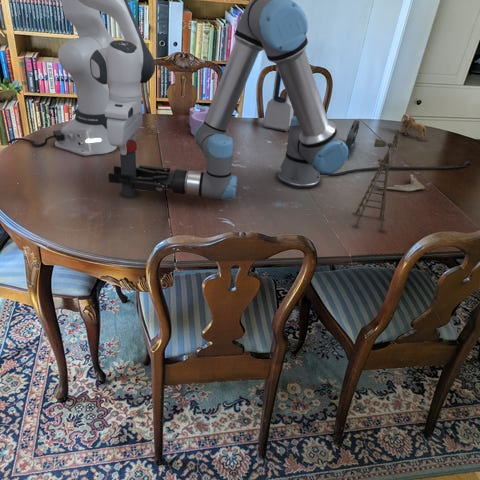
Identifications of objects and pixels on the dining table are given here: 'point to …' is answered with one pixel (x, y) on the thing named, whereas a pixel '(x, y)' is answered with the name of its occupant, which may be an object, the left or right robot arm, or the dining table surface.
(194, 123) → the clip
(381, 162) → the miniature windmill
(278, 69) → the right robot arm
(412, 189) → the jawbone
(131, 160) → the dark grey bottle
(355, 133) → the handheld gaming console
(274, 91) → the electronic device
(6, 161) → the dining table surface
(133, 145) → the lid
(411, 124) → the lion figurine
